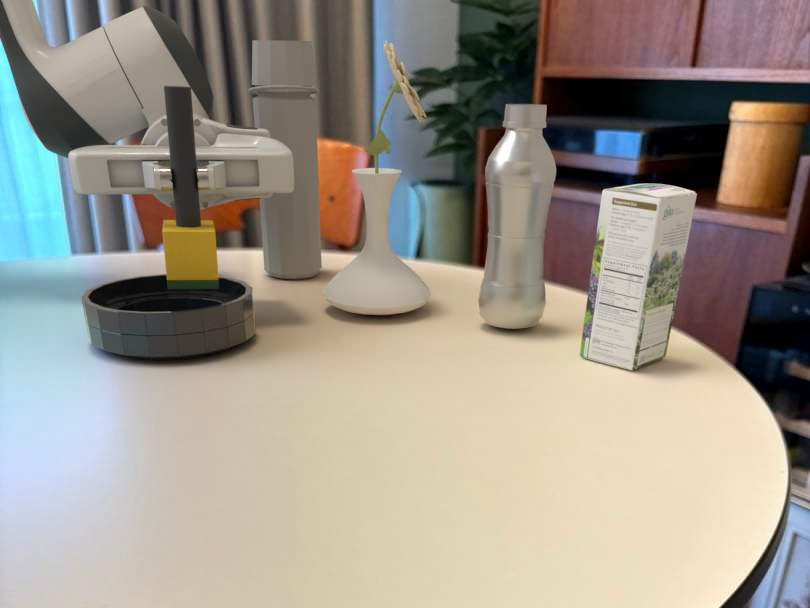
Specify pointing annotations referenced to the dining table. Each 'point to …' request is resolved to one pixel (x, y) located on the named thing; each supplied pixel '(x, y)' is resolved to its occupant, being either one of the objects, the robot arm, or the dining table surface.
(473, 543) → the dining table surface
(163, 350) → the bowl
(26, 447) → the dining table surface
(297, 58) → the water bottle
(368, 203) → the flower in vase
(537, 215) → the plastic bottle
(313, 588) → the dining table surface
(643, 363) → the syrup box
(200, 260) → the sponge wand
